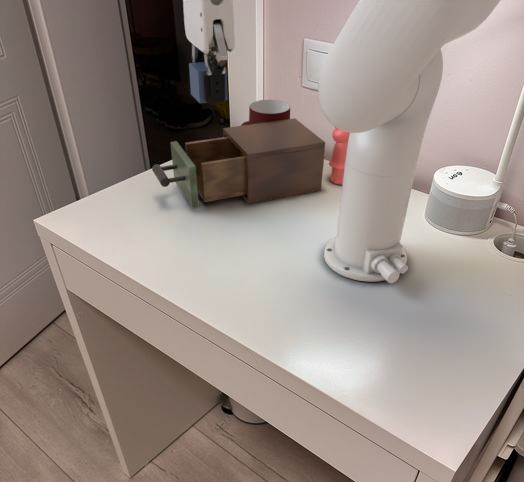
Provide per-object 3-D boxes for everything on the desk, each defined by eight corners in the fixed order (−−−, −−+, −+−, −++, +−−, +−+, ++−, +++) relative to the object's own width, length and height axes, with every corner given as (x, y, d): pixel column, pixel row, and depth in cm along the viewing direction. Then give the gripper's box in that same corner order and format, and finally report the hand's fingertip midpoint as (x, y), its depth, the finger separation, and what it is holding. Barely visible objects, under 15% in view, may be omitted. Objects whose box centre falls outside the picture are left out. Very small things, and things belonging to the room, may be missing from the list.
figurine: (344, 172, 106) (354, 91, 96) (359, 182, 103) (370, 100, 92) (322, 176, 104) (329, 95, 94) (336, 187, 101) (345, 104, 91)
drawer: (167, 212, 91) (162, 171, 86) (151, 184, 99) (145, 145, 94) (264, 195, 96) (264, 155, 92) (241, 169, 104) (241, 131, 99)
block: (227, 100, 85) (226, 68, 82) (199, 103, 83) (198, 71, 80) (217, 91, 88) (216, 60, 85) (190, 94, 86) (188, 63, 83)
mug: (247, 169, 106) (247, 118, 100) (232, 154, 112) (231, 104, 105) (295, 160, 110) (297, 110, 103) (277, 146, 115) (279, 97, 108)
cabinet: (248, 204, 96) (248, 154, 90) (224, 175, 104) (223, 128, 98) (321, 190, 100) (325, 142, 94) (292, 164, 108) (295, 118, 102)
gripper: (252, -36, 69) (251, 111, 81) (209, -54, 80) (214, 77, 92) (196, -34, 66) (204, 117, 79) (160, -53, 78) (172, 82, 90)
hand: (209, 94), depth 85 cm, fingers closed on block, 4 cm apart
